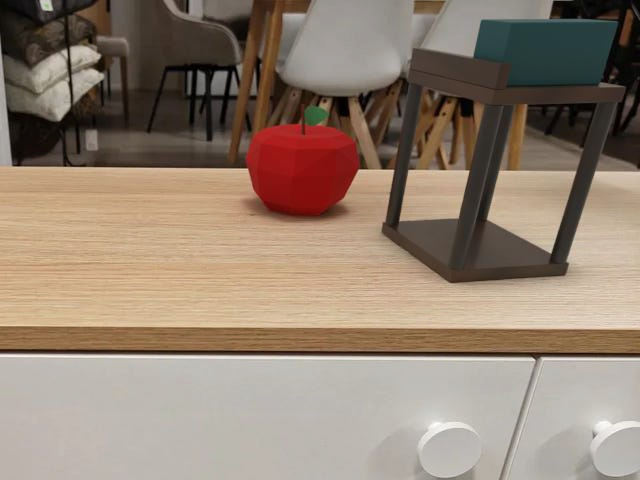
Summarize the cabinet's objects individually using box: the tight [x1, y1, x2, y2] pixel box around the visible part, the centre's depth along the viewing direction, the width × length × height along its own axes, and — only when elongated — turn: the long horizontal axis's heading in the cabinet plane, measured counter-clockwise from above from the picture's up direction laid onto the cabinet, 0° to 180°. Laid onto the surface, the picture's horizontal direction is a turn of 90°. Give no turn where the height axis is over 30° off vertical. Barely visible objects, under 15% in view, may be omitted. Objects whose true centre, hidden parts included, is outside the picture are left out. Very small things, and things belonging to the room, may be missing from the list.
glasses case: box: [472, 18, 619, 87], centre depth 47 cm, size 8×4×4 cm, turn 99°
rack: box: [380, 47, 627, 283], centre depth 54 cm, size 10×12×16 cm
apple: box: [245, 103, 360, 217], centre depth 67 cm, size 11×11×10 cm
